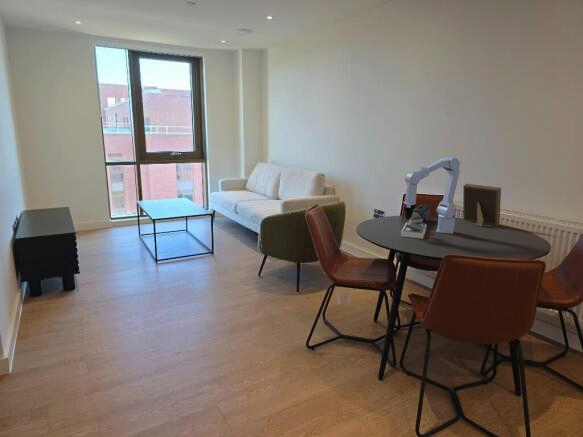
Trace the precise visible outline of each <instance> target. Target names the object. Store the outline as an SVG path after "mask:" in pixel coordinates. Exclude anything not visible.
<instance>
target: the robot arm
mask: <svg viewBox="0 0 583 437" xmlns="http://www.w3.org/2000/svg"><path fill="white" fill-rule="evenodd" d="M460 166H461V162H460V160H459V159H458V158H457V157H449V156H443V157H441V158H439V159H438V160H437V161H435V162H433V163H432V164H430V165H428V166H427V167H426V166H420V168H419V169H416V170H413V172H411V173H410V172H409V173H408V174H406V176H405V177H404V181H405V182H406V190H405V201H403V202H402V203H403V204H405V206H403V210H404V213H405V219H406V220H408V219H410V218H411V217H412V214H413V210H414V209H416V206H417V203H416V201H417V191H418V190H417V189H418V184H419V183H420V181H422V180H423V179H425V178H427V177H429V176H430V173H432V172H434V171H437V170H439V169H441V168H442V169H443V170H445V171H446V172H447V173H448V176H447V181H446V185H445V190H444V194H443V198H442V200H441V201H440V202H439V203H438V206H437V208H436V210H435V211H436V214H437V216H438V218H437V228H436V231H435V232H436V233H442V234H451V235H453V234H454V232H455V227H456V226H455V222H456V217H454V216H455V213H456V206H455V203H454V199H455V195H456V194H455V193H456V189H457V185H458V182H459V178H460V177H459V176H460V174H461V172H460V171H461V170H460Z"/></svg>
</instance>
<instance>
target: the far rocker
mask: <svg viewBox="0 0 583 437" xmlns="http://www.w3.org/2000/svg"><path fill="white" fill-rule="evenodd" d="M423 221H424V220H423V219H417V220H411V221H409V222H412V223H414V224H417V225H419V224H422V223H423Z"/></svg>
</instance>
